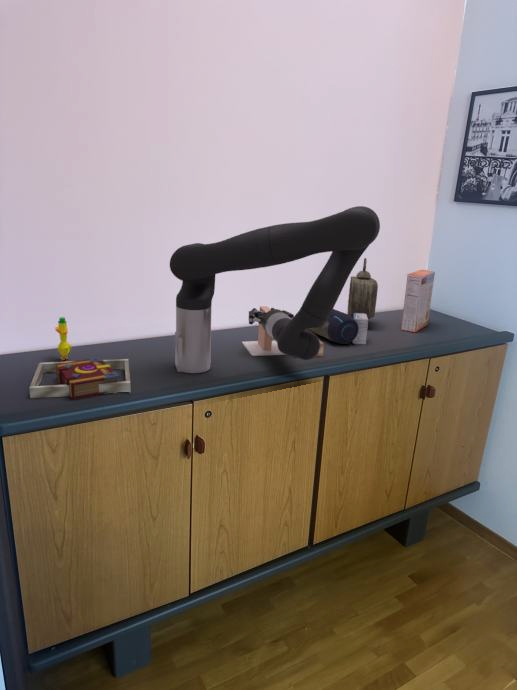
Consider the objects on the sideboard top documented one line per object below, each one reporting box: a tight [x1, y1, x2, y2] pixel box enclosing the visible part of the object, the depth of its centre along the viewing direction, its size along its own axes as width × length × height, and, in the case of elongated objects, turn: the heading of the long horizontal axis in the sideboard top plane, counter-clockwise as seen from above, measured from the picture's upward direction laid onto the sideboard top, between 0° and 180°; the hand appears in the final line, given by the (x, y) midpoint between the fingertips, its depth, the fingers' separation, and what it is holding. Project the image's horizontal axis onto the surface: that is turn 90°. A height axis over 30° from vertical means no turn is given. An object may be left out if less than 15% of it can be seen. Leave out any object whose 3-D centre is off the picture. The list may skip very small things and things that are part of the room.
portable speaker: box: [307, 308, 359, 345], centre depth 172 cm, size 25×10×10 cm, turn 29°
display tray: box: [28, 358, 132, 399], centre depth 125 cm, size 22×17×2 cm
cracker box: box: [400, 269, 436, 333], centre depth 186 cm, size 14×6×21 cm, turn 144°
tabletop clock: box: [347, 257, 379, 320], centre depth 185 cm, size 14×9×25 cm, turn 172°
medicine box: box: [351, 313, 369, 346], centre depth 169 cm, size 8×4×9 cm, turn 172°
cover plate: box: [257, 305, 273, 350], centre depth 156 cm, size 2×7×12 cm, turn 15°
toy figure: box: [54, 316, 72, 361], centre depth 138 cm, size 7×4×12 cm, turn 42°
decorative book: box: [55, 356, 121, 400], centre depth 123 cm, size 11×16×5 cm
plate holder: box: [291, 339, 325, 358], centre depth 156 cm, size 9×11×4 cm
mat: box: [241, 340, 286, 357], centre depth 157 cm, size 11×13×1 cm
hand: (262, 311), depth 157 cm, fingers open, 5 cm apart
